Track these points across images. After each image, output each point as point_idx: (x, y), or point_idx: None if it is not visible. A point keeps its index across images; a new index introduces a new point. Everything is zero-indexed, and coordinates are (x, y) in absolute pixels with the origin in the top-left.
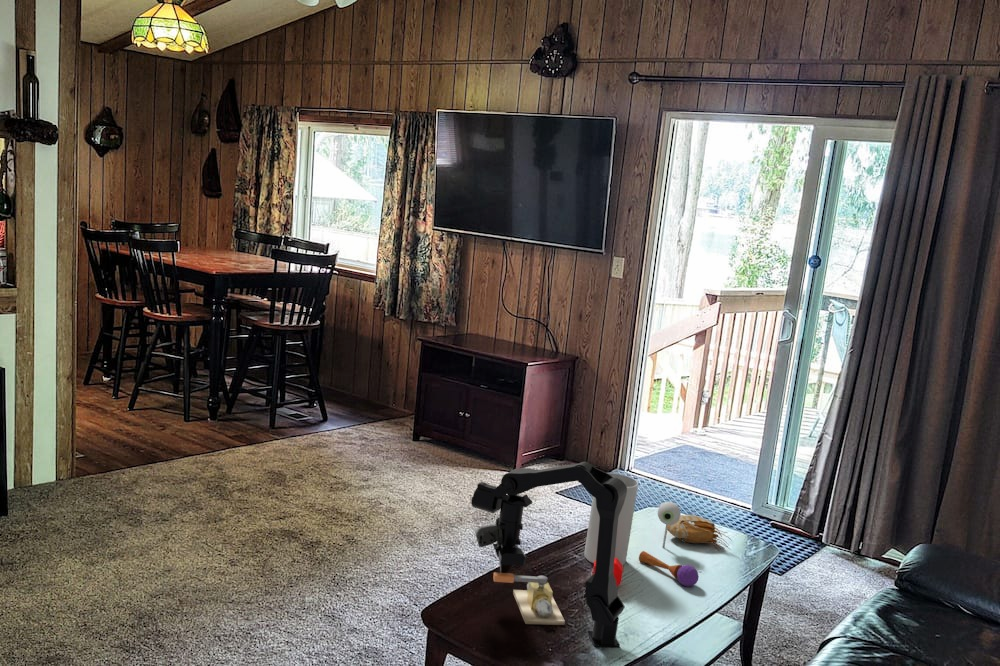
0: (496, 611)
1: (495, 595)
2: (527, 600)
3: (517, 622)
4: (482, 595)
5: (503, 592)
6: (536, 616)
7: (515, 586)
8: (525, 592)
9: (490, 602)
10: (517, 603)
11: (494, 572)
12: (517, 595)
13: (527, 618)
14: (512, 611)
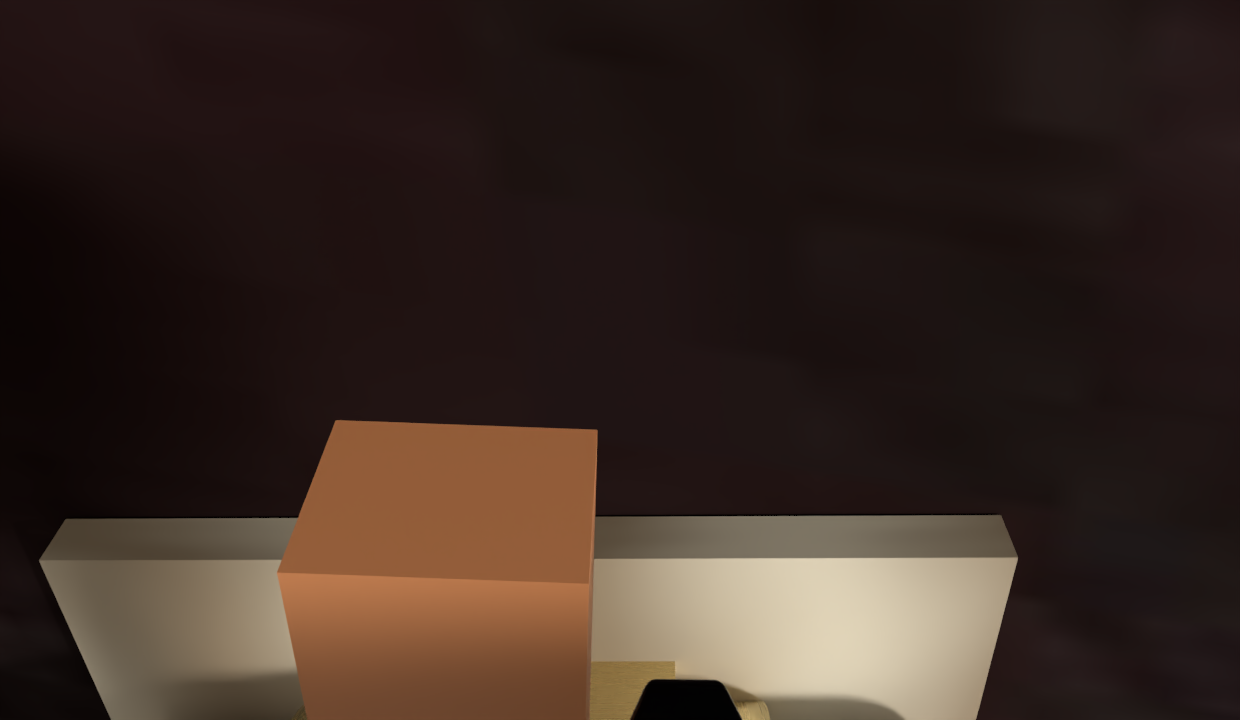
0: (347, 178)
1: (959, 252)
2: (642, 669)
3: (70, 430)
4: (983, 3)
5: (1054, 393)
6: (205, 683)
7: (1221, 576)
8: (914, 679)
9: (685, 122)
10: (649, 523)
11: (566, 599)
12: (821, 577)
13: (95, 584)
14: (406, 419)
